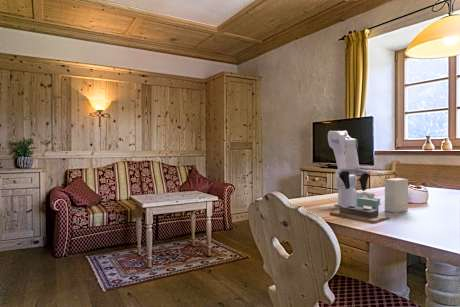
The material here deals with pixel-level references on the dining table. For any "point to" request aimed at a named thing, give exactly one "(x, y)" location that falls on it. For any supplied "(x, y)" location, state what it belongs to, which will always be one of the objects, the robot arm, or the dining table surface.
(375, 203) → the clip
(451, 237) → the dining table surface
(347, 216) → the rail stand
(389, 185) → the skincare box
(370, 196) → the lattice window wall
